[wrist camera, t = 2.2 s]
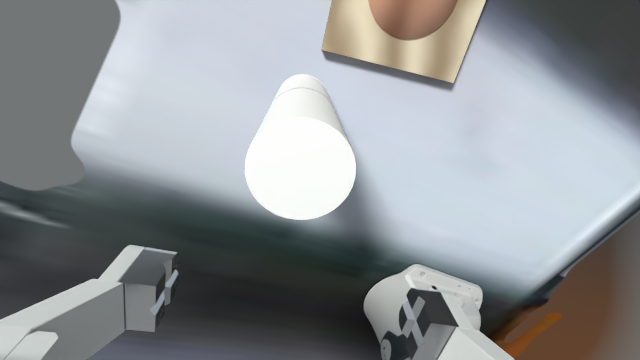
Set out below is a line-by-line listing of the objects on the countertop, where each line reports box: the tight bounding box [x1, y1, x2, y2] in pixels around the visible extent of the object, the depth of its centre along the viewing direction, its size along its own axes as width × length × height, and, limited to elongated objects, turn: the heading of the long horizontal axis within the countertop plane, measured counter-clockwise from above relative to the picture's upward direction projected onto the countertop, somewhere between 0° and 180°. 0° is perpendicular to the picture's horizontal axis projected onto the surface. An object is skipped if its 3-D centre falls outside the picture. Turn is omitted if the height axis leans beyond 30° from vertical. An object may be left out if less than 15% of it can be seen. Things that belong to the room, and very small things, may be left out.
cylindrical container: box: [245, 74, 356, 220], centre depth 31 cm, size 7×7×25 cm
